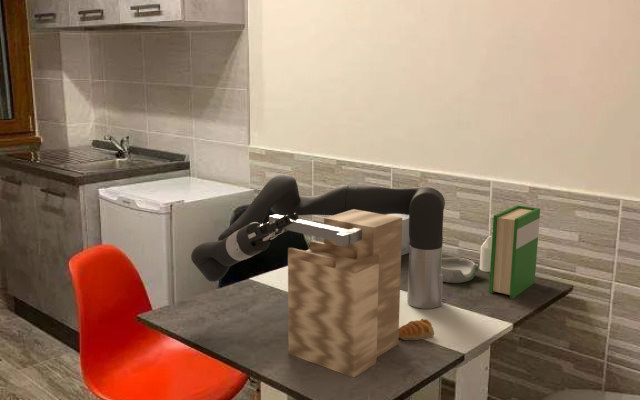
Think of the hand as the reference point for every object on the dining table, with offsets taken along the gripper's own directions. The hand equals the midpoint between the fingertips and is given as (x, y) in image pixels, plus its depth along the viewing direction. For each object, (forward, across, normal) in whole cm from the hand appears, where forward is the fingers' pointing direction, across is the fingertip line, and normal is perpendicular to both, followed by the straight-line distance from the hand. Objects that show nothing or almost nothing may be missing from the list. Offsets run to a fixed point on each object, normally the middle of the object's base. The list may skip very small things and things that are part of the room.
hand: (292, 218), depth 153 cm
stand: (-6, -6, -34) cm, 35 cm away
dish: (-11, -72, -31) cm, 79 cm away
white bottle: (-6, -86, -34) cm, 93 cm away
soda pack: (-39, -70, -15) cm, 81 cm away
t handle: (+3, 0, -5) cm, 6 cm away
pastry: (+2, -24, -38) cm, 45 cm away
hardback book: (+6, -74, -40) cm, 84 cm away
